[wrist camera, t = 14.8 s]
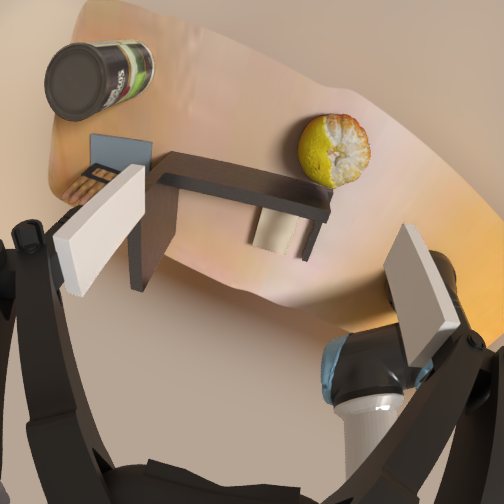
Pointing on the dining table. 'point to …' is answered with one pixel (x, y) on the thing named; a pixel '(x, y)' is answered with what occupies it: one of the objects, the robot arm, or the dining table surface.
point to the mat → (120, 152)
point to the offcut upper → (275, 230)
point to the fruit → (333, 150)
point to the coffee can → (96, 76)
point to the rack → (221, 185)
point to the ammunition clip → (90, 183)
